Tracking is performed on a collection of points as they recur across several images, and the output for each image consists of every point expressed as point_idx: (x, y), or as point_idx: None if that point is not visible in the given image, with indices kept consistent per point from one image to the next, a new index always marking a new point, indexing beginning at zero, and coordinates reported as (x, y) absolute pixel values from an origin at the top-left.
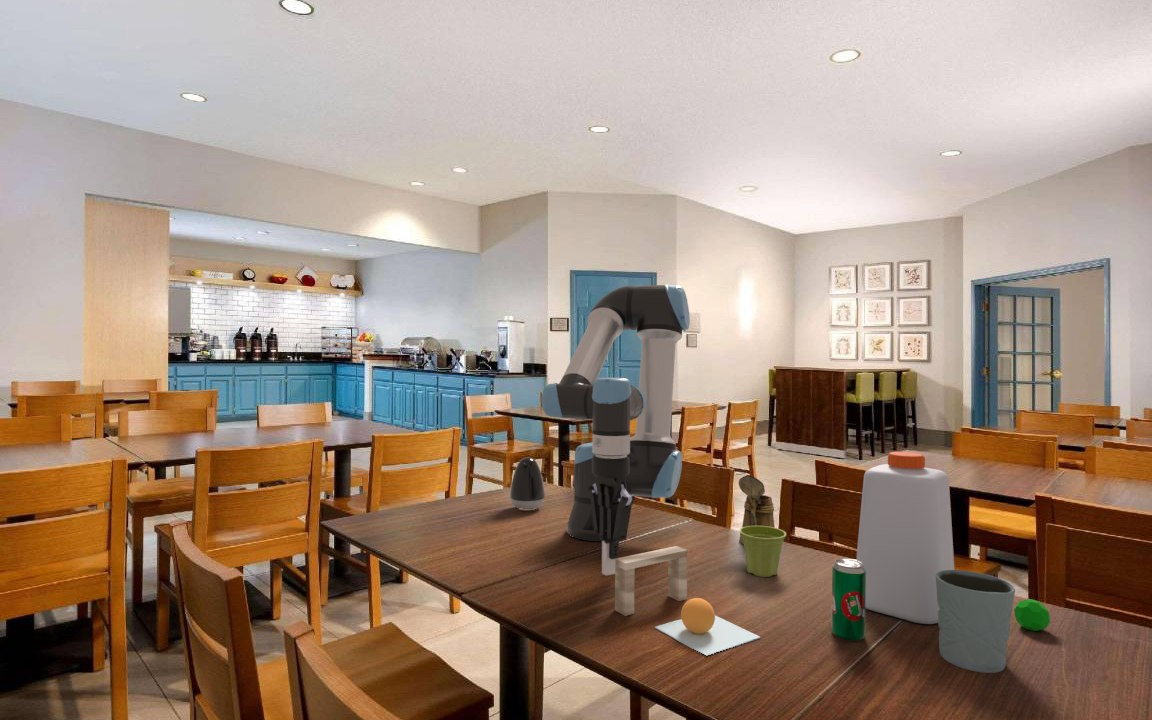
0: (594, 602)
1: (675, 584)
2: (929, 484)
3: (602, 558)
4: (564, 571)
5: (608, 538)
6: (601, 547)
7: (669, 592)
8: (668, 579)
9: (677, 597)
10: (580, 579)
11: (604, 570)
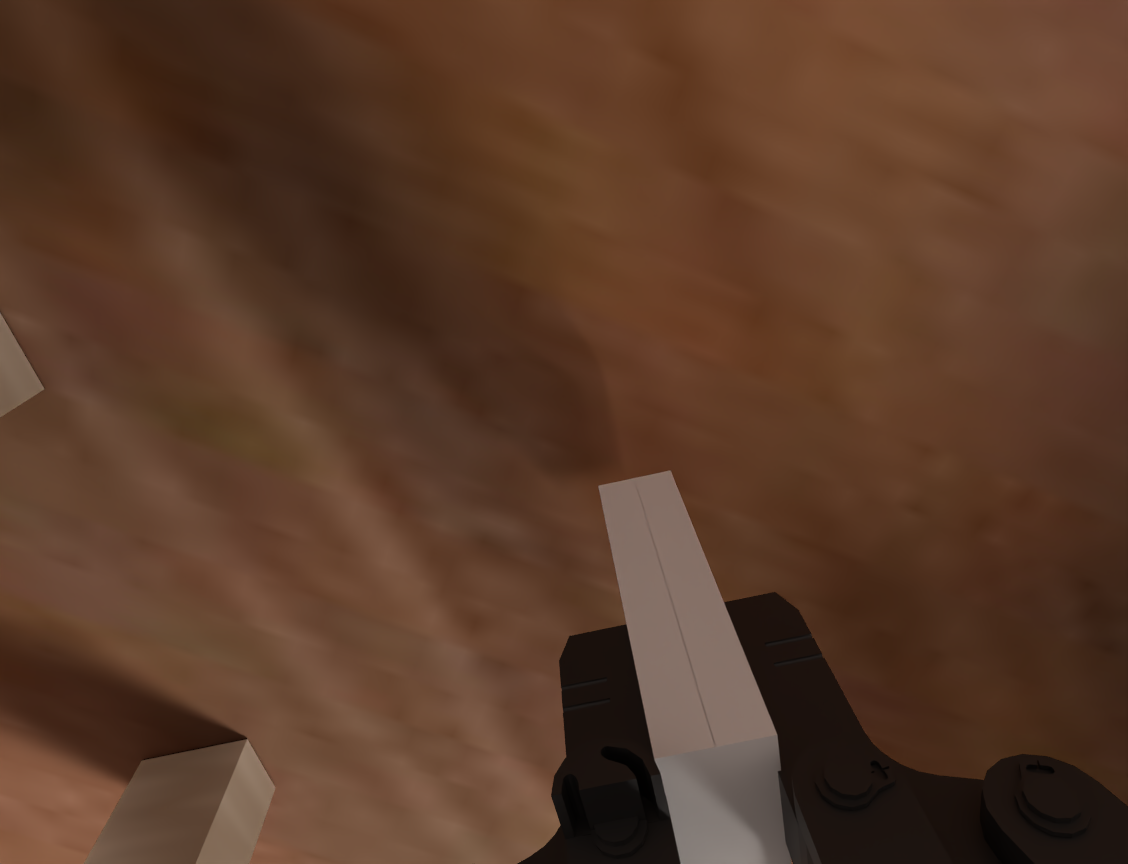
0: (209, 186)
1: (122, 854)
2: None
3: (699, 562)
4: (1098, 211)
5: (622, 849)
6: (820, 653)
7: (221, 768)
8: (194, 853)
9: (142, 777)
10: (821, 283)
11: (634, 501)
